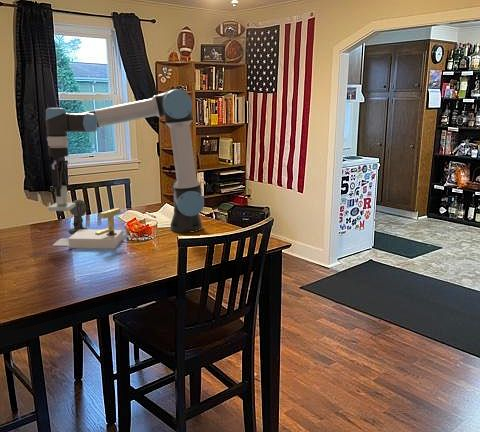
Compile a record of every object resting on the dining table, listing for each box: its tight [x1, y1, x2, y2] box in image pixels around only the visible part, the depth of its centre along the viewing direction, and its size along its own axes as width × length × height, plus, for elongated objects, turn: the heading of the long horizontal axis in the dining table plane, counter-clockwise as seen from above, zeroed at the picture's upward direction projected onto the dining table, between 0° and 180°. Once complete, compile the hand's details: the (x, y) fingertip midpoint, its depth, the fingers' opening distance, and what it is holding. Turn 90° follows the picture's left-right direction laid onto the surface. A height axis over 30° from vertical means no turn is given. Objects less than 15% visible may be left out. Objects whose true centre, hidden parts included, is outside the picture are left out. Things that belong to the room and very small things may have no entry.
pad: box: [51, 237, 69, 247], centre depth 202 cm, size 8×10×1 cm
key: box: [95, 207, 122, 235], centre depth 198 cm, size 14×2×10 cm, turn 153°
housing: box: [68, 228, 124, 249], centre depth 201 cm, size 19×14×4 cm
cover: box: [48, 185, 76, 212], centre depth 197 cm, size 8×9×10 cm
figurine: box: [67, 199, 88, 235], centre depth 216 cm, size 9×10×15 cm
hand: (62, 202), depth 197 cm, fingers closed on cover, 4 cm apart
